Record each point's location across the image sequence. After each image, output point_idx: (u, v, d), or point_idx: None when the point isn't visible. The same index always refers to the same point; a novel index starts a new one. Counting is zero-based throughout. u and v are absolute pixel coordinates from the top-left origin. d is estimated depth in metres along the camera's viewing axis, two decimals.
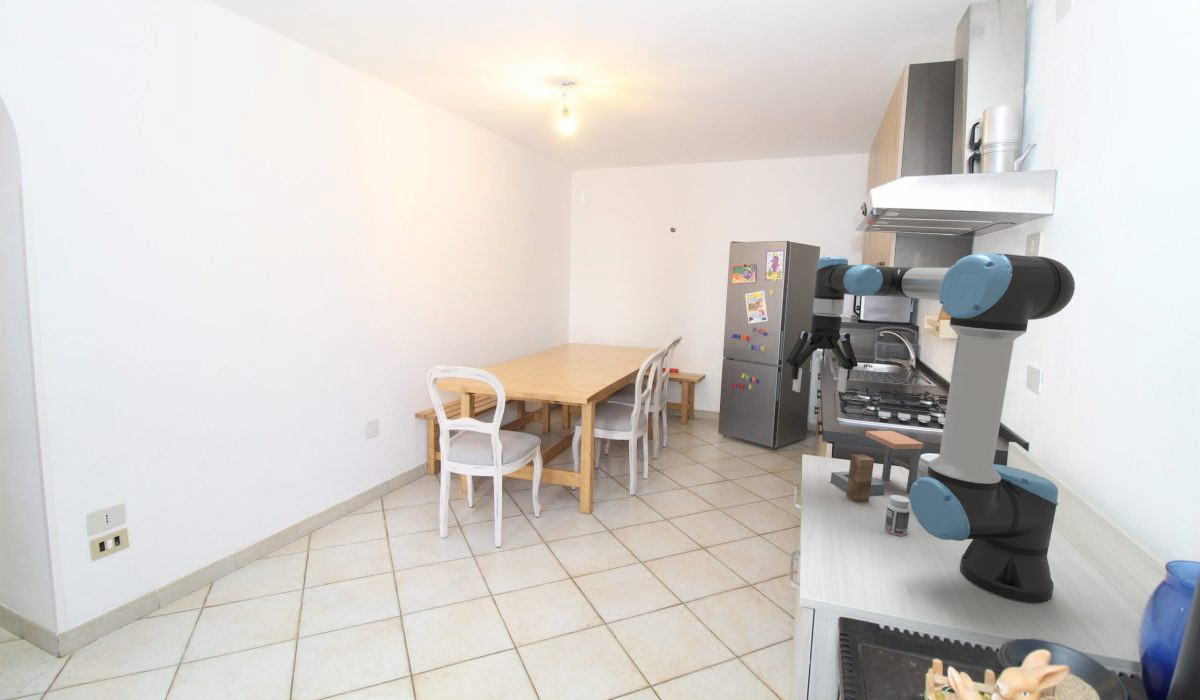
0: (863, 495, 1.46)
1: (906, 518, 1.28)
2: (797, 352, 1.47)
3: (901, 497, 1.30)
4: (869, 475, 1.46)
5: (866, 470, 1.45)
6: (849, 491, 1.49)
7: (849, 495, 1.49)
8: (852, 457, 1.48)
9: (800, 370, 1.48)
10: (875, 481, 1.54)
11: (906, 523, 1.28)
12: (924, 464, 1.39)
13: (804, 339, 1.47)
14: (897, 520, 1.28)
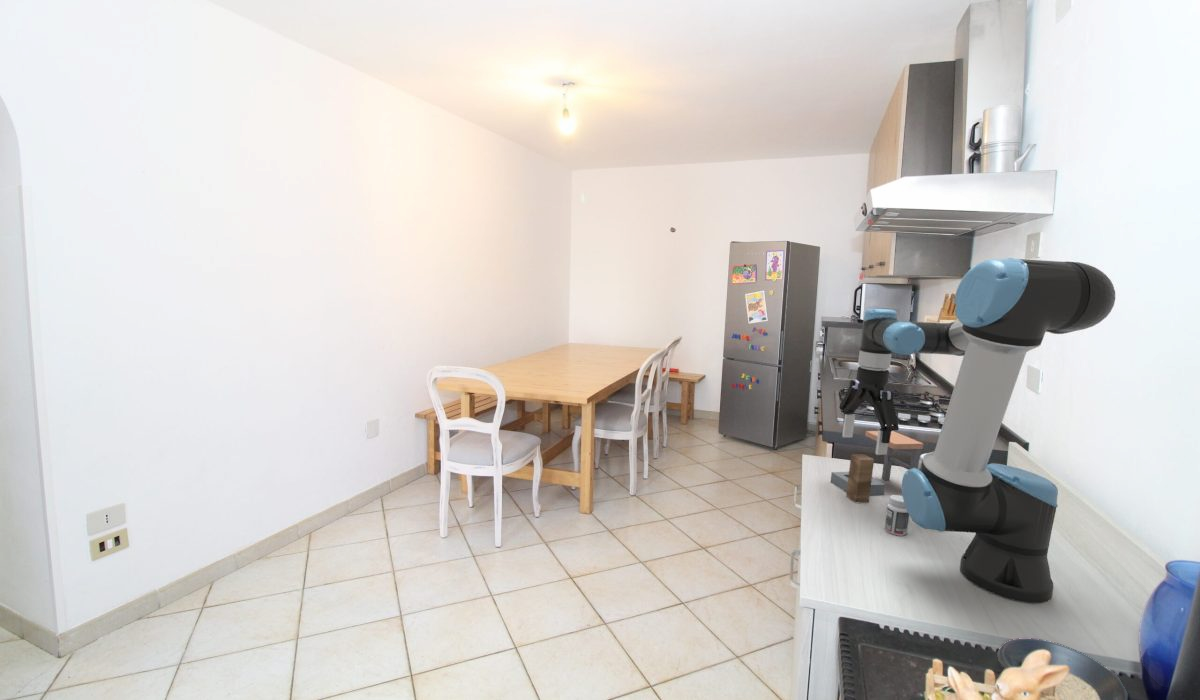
0: (863, 495, 1.46)
1: (906, 518, 1.28)
2: (844, 398, 1.53)
3: (901, 497, 1.30)
4: (869, 475, 1.46)
5: (866, 470, 1.45)
6: (849, 491, 1.49)
7: (849, 495, 1.49)
8: (852, 457, 1.48)
9: (845, 416, 1.52)
10: (875, 481, 1.54)
11: (906, 523, 1.28)
12: None
13: (850, 386, 1.50)
14: (897, 520, 1.28)
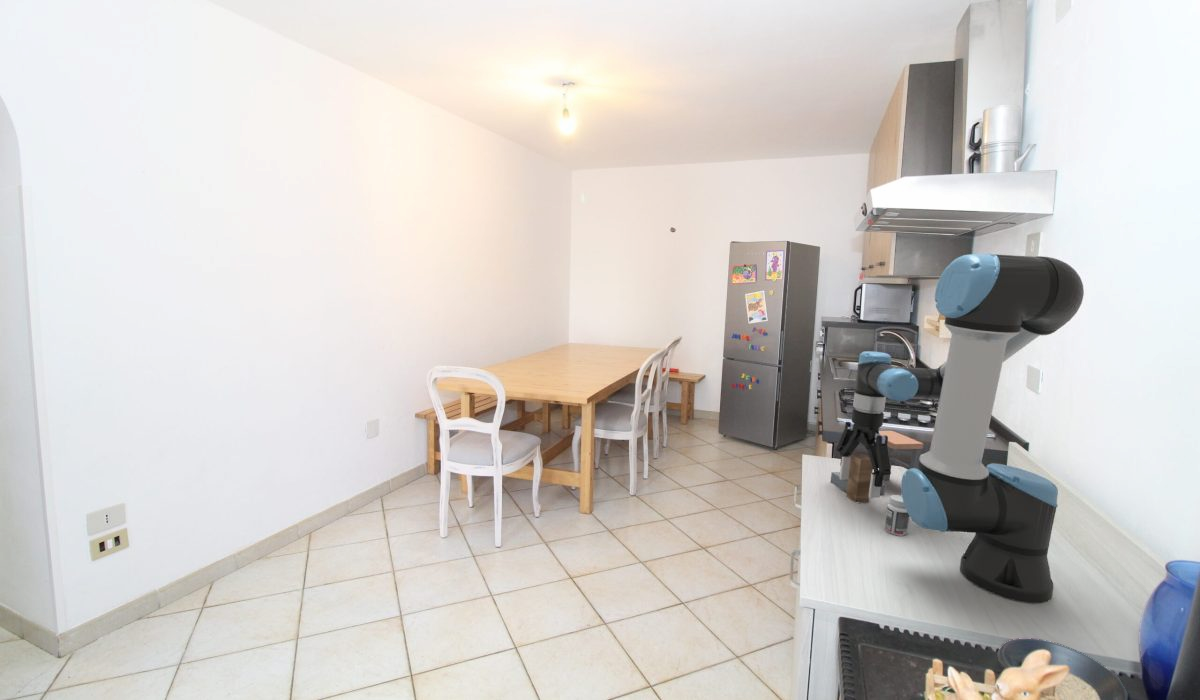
0: (863, 495, 1.46)
1: (906, 518, 1.28)
2: (841, 439, 1.54)
3: (901, 497, 1.30)
4: (869, 475, 1.46)
5: (866, 470, 1.45)
6: (849, 491, 1.49)
7: (849, 495, 1.49)
8: (852, 457, 1.48)
9: (842, 458, 1.53)
10: None
11: (906, 523, 1.28)
12: None
13: (845, 428, 1.52)
14: (897, 520, 1.28)
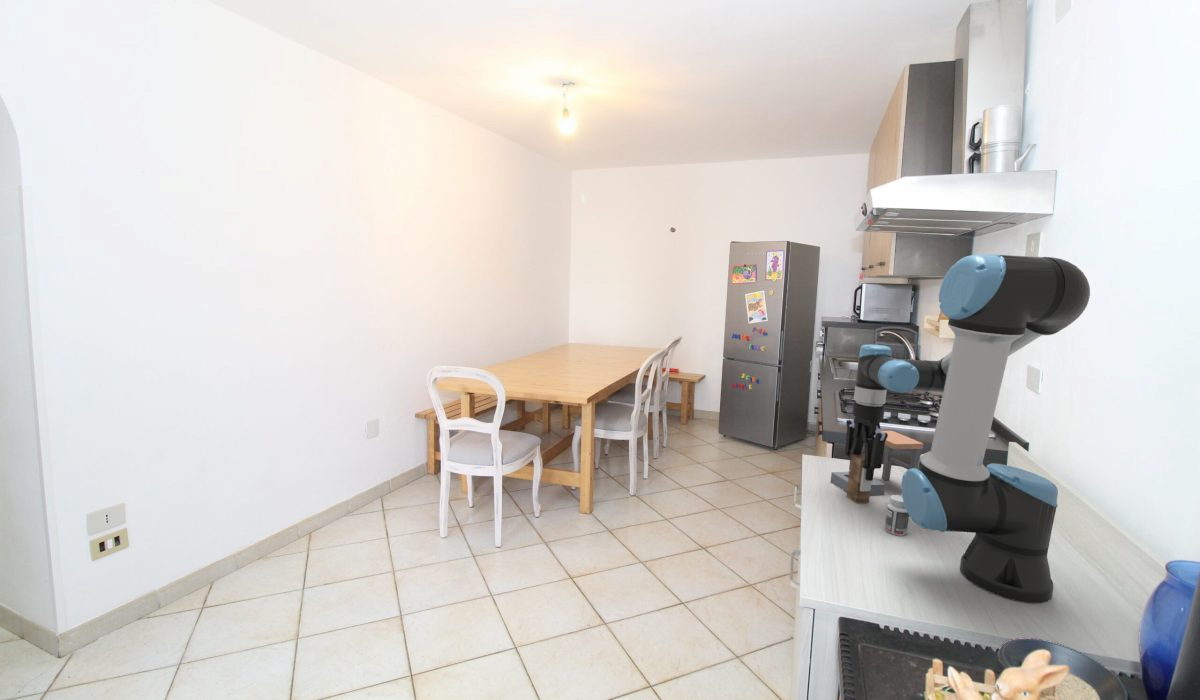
0: (864, 495, 1.46)
1: (906, 518, 1.28)
2: (846, 441, 1.51)
3: (901, 497, 1.30)
4: None
5: None
6: (849, 491, 1.49)
7: (849, 495, 1.49)
8: (852, 457, 1.48)
9: None
10: (875, 481, 1.54)
11: (906, 523, 1.28)
12: None
13: (847, 427, 1.51)
14: (897, 520, 1.28)
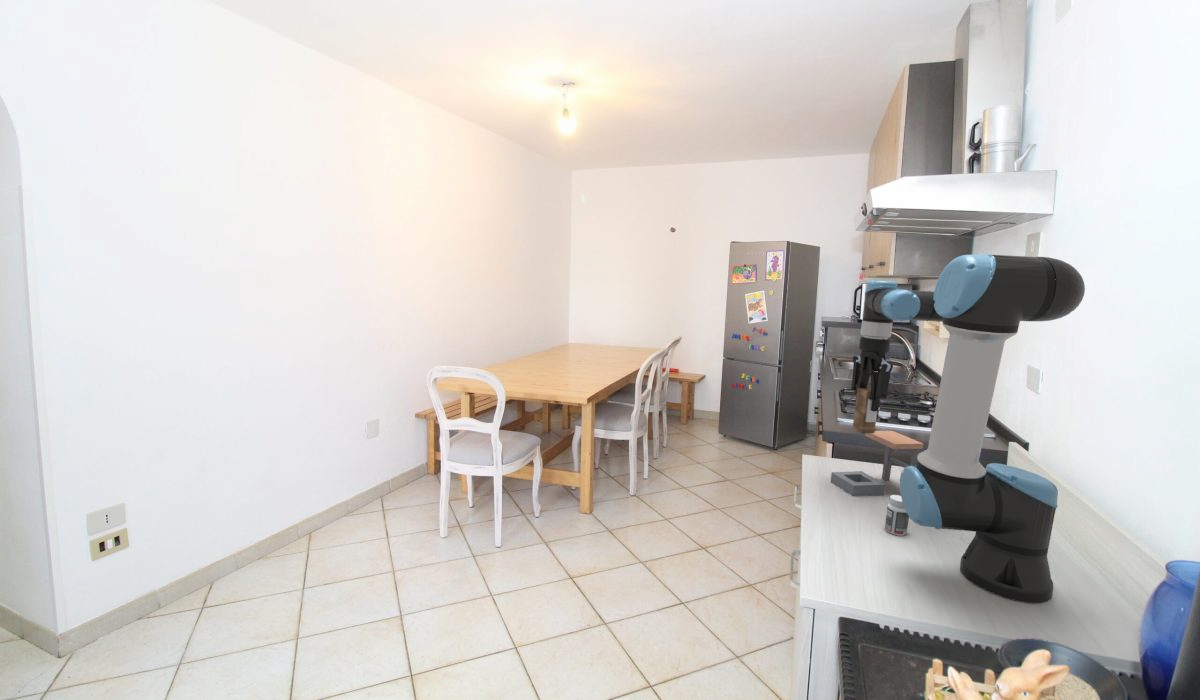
0: (869, 426, 1.52)
1: (906, 518, 1.28)
2: (853, 376, 1.57)
3: None
4: None
5: None
6: (855, 423, 1.54)
7: (855, 427, 1.54)
8: (858, 390, 1.53)
9: None
10: (875, 481, 1.54)
11: (906, 523, 1.28)
12: None
13: (854, 362, 1.56)
14: (897, 520, 1.28)
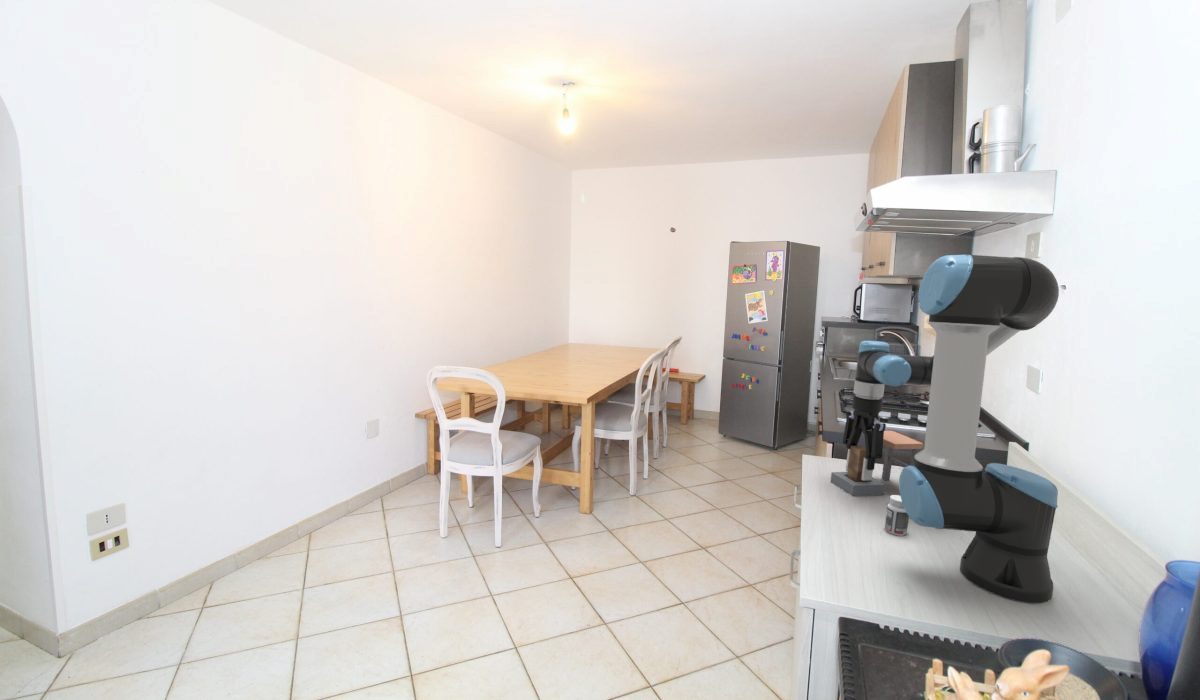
0: None
1: (906, 518, 1.28)
2: (845, 431, 1.60)
3: None
4: None
5: None
6: None
7: None
8: (852, 448, 1.56)
9: (848, 450, 1.58)
10: (875, 481, 1.54)
11: (906, 523, 1.28)
12: None
13: (847, 418, 1.59)
14: (897, 520, 1.28)
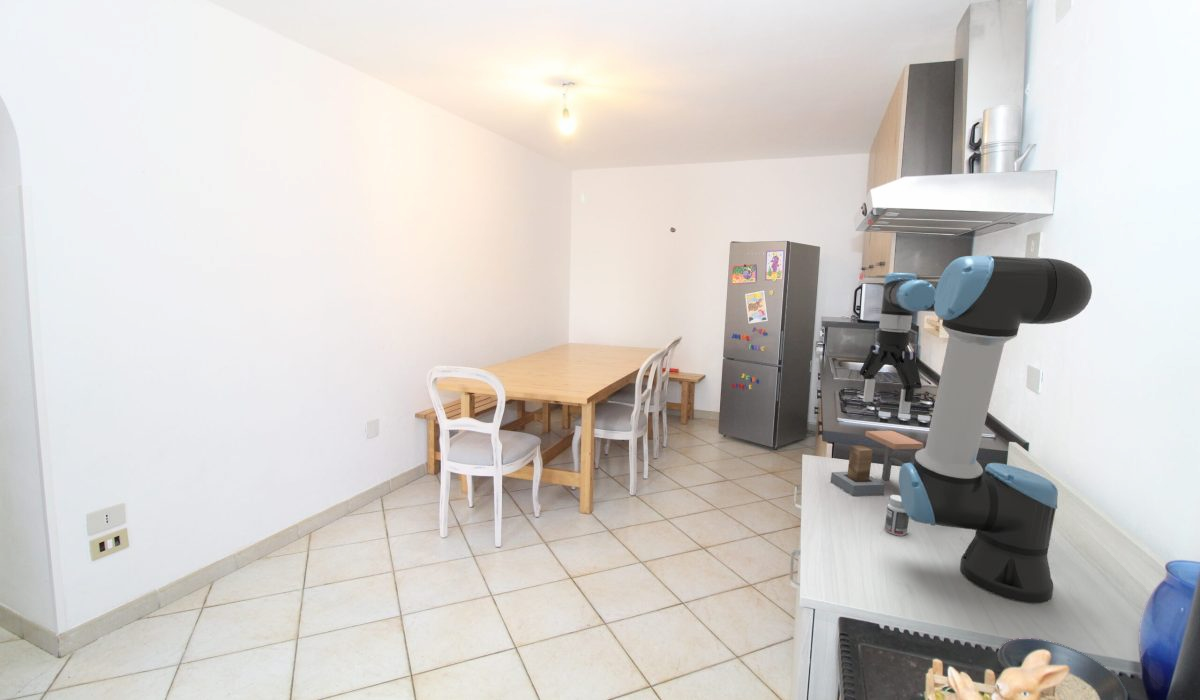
0: None
1: (906, 518, 1.28)
2: (865, 363, 1.57)
3: None
4: (868, 465, 1.54)
5: (865, 460, 1.53)
6: None
7: None
8: (852, 448, 1.56)
9: (866, 380, 1.56)
10: (875, 481, 1.54)
11: (906, 523, 1.28)
12: None
13: (870, 351, 1.55)
14: (897, 520, 1.28)
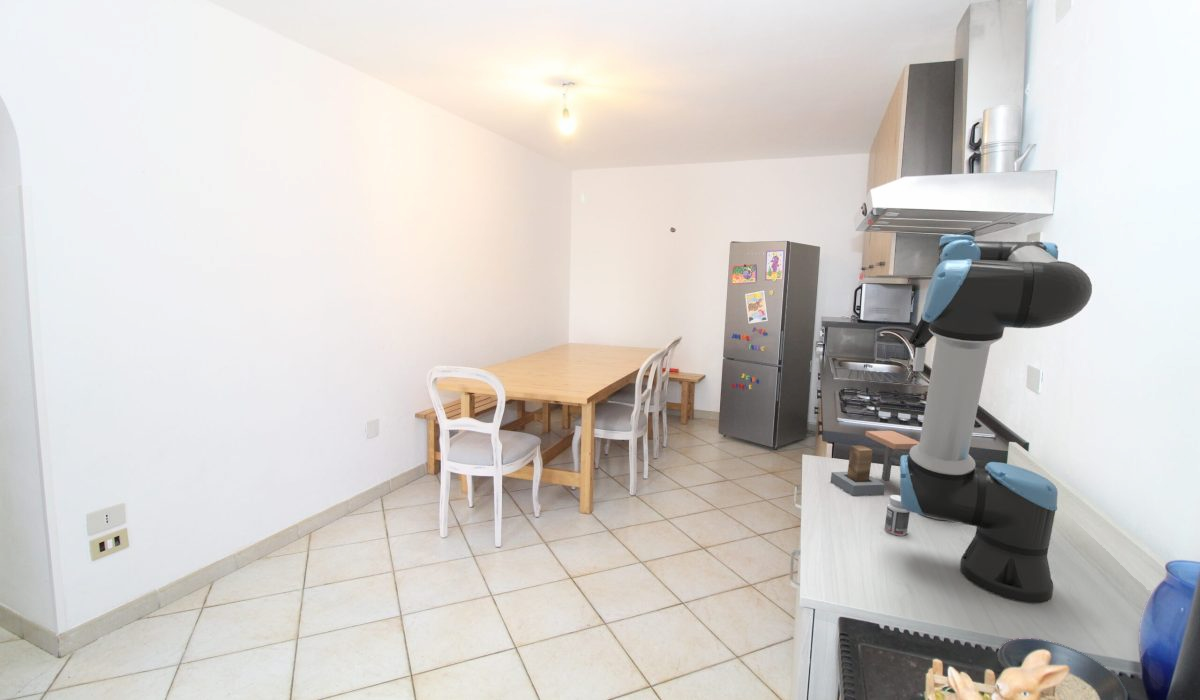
0: None
1: (906, 518, 1.28)
2: (915, 331, 1.51)
3: None
4: (868, 465, 1.54)
5: (865, 460, 1.53)
6: None
7: None
8: (852, 448, 1.56)
9: (916, 349, 1.51)
10: (875, 481, 1.54)
11: (906, 523, 1.28)
12: None
13: (921, 318, 1.49)
14: (897, 520, 1.28)
